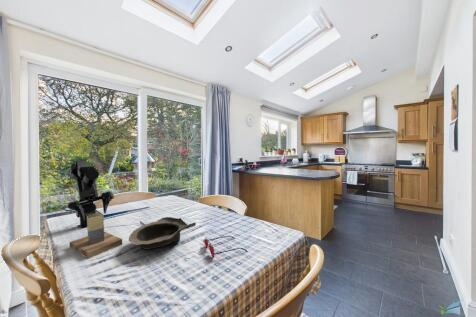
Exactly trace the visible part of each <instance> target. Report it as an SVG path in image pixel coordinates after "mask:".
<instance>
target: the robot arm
mask: <svg viewBox="0 0 476 317" xmlns="http://www.w3.org/2000/svg"><path fill="white" fill-rule="evenodd" d="M69 174H70V175H71V178H72V179H74V181H76V186H77V192H78V198H79V200H74V201H71V202H68V203H67V209H70V210H72V211H75V216H76V218H77V219H78V218H79V224H78V225H77V227H79V228H81V229H85V228H87V215H89V214H94V213H97V205H96V204H95V203H96V202H97V201H98V202H99V201H102V210H103V214H107V210H108V206H109V204H110V202H111V201H112V200H113V199H115V195H114V193H113V192H111V191H110V190H108V191H105V192H102V193H101V195H100V196H99V191H98V190H99V189H98V188H97V181H98V179H99V177H100V172H99V171H98V169H97V168H96V167H95V166H94V165H90V164H88V163H87V161H86V160H84V159H82V160H81V159H80V160H79V159H77V160H75V161H74V163H72V164H71V165H70V166H69Z"/></svg>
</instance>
